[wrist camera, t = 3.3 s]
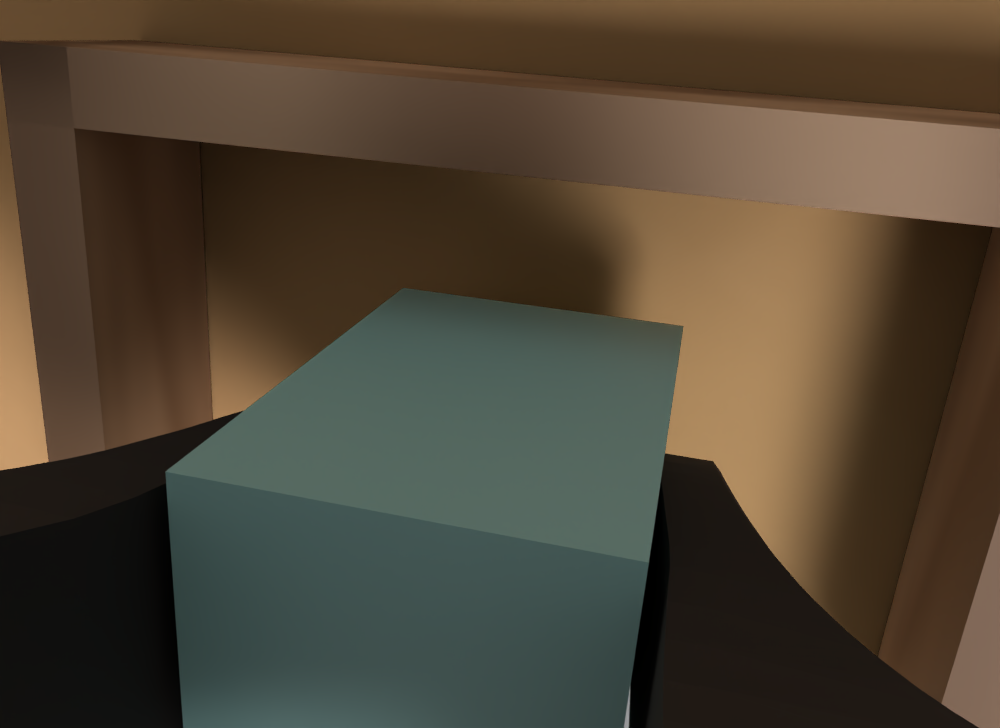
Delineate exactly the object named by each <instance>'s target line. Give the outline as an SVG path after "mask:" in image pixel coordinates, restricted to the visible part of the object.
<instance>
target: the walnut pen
mask: <svg viewBox="0 0 1000 728" xmlns="http://www.w3.org/2000/svg"><path fill="white" fill-rule="evenodd" d="M0 65H1V73H2V82H3V90H4V98H5V106H6V114H7V123H8V131H9V139H10V147H11V156H12V164H13V172H14V180H15V188H16V197H17V205H18V213H19V221H20V229H21V238H22V246H23V254H24V262H25V270H26V279H27V287H28V295H29V303H30V311H31V320H32V328H33V336H34V344H35V352H36V361H37V369H38V377H39V385H40V393H41V402H42V410H43V418H44V426H45V434H46V443H47V451H48V459H49V462H52V461H58V460H63V459H68V458H73V457H77V456H82V455H87V454H91V453H95V452H100V451H104V450H108V449H112V448H116V447H119V446H123V445H127V444H130V443H134V442H138V441H141V440H145V439H149V438H153V437H156V436H160V435H164V434H167V433H171V432H175V431H178V430H182V429H185V428H188V427H192V426H195V425H198V424H202V423H205V422H208V421H211V420H213V417H212V396H211V376H210V355H209V335H208V314H207V293H206V273H205V252H204V231H203V211H202V190H201V170H200V149H199V142H207V143H217V144H226V145H235V146H245V147H254V148H263V149H273V150H282V151H291V152H301V153H310V154H319V155H329V156H338V157H347V158H357V159H366V160H375V161H384V162H394V163H403V164H412V165H422V166H431V167H440V168H450V169H459V170H468V171H478V172H487V173H496V174H506V175H515V176H524V177H534V178H543V179H552V180H562V181H571V182H580V183H590V184H599V185H608V186H618V187H627V188H636V189H646V190H655V191H664V192H674V193H683V194H692V195H702V196H711V197H720V198H730V199H739V200H748V201H758V202H767V203H776V204H785V205H795V206H804V207H813V208H823V209H832V210H841V211H851V212H860V213H869V214H879V215H888V216H897V217H907V218H916V219H925V220H935V221H944V222H953V223H963V224H972V225H981V226H991V227H993V229H992V233H991V236H990V240H989V244H988V248H987V251H986V255H985V259H984V262H983V266H982V270H981V274H980V277H979V281H978V285H977V289H976V292H975V296H974V300H973V303H972V307H971V311H970V315H969V318H968V322H967V326H966V330H965V333H964V337H963V341H962V344H961V348H960V352H959V356H958V359H957V363H956V367H955V371H954V374H953V378H952V382H951V385H950V389H949V393H948V397H947V400H946V404H945V408H944V412H943V415H942V419H941V423H940V427H939V430H938V434H937V438H936V441H935V445H934V449H933V453H932V456H931V460H930V464H929V468H928V471H927V475H926V479H925V482H924V486H923V490H922V494H921V497H920V501H919V505H918V509H917V512H916V516H915V520H914V523H913V527H912V531H911V535H910V538H909V542H908V546H907V550H906V553H905V557H904V561H903V564H902V568H901V572H900V576H899V579H898V583H897V587H896V591H895V594H894V598H893V602H892V606H891V609H890V613H889V617H888V620H887V624H886V628H885V632H884V635H883V639H882V643H881V647H880V650H879V654H878V658H880V659H881V660H882V661H884V662H885V663H886V664H888V665H889V666H890V667H891V668H893V669H894V670H895V671H897V672H898V673H899V674H901V675H902V676H903V677H905V678H906V679H907V680H908V681H910V682H911V683H912V684H914V685H915V686H916V687H918V688H919V689H921V690H922V691H924V692H925V693H927V694H928V695H929V696H931V697H932V698H934V699H935V700H937V701H938V702H940V703H941V704H943V705H944V706H946V707H947V708H948V709H950V710H951V711H953V712H955V713H956V714H958V715H959V716H961V717H963V718H964V719H966V720H967V721H969V722H971V723H972V724H974V725H975V726H977V727H979V728H1000V114H995V113H984V112H972V111H960V110H948V109H937V108H925V107H913V106H901V105H890V104H878V103H866V102H854V101H843V100H831V99H819V98H807V97H796V96H784V95H772V94H760V93H749V92H737V91H725V90H713V89H702V88H690V87H678V86H666V85H655V84H643V83H631V82H619V81H608V80H596V79H584V78H572V77H561V76H549V75H537V74H525V73H514V72H502V71H490V70H478V69H467V68H455V67H443V66H431V65H420V64H408V63H396V62H384V61H372V60H361V59H349V58H337V57H325V56H314V55H302V54H290V53H278V52H267V51H255V50H243V49H231V48H220V47H208V46H196V45H184V44H173V43H161V42H149V41H137V40H133V41H0Z"/></svg>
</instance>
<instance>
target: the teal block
mask: <svg viewBox="0 0 1000 728" xmlns="http://www.w3.org/2000/svg"><path fill="white" fill-rule="evenodd" d="M682 332H683V326H678V325H671V324H664V323H657V322H649V321H642V320H635V319H627V318H620V317H613V316H605V315H598V314H591V313H583V312H576V311H569V310H562V309H554V308H547V307H540V306H532V305H525V304H518V303H510V302H503V301H496V300H488V299H481V298H474V297H467V296H459V295H452V294H445V293H437V292H430V291H423V290H415V289H408V288H402V289H401V290H400V291H398V292H397V293H396V294H395V295H393V296H392V297H391V298H389V299H388V300H387V301H386V302H384V303H383V304H382V305H380V306H379V307H378V308H376V309H375V310H374V311H373V312H371V313H370V314H369V315H367V316H366V317H365V318H364V319H362V320H361V321H360V322H358V323H357V324H356V325H354V326H353V327H352V328H351V329H349V330H348V331H347V332H345V333H344V334H343V335H342V336H340V337H339V338H338V339H336V340H335V341H334V342H332V343H331V344H330V345H329V346H327V347H326V348H325V349H323V350H322V351H321V352H319V353H318V354H317V355H316V356H314V357H313V358H312V359H310V360H309V361H308V362H307V363H305V364H304V365H303V366H301V367H300V368H299V369H297V370H296V371H295V372H294V373H292V374H291V375H290V376H288V377H287V378H286V379H285V380H283V381H282V382H281V383H279V384H278V385H277V386H275V387H274V388H273V389H272V390H270V391H269V392H268V393H266V394H265V395H264V396H263V397H261V398H260V399H259V400H257V401H256V402H255V403H253V404H252V405H251V406H250V407H248V408H247V409H246V410H244V411H243V412H242V413H241V414H239V415H238V416H237V417H235V418H234V419H233V420H231V421H230V422H229V423H228V424H226V425H225V426H224V427H222V428H221V429H220V430H219V431H217V432H216V433H215V434H213V435H212V436H211V437H209V438H208V439H207V440H206V441H204V442H203V443H202V444H200V445H199V446H198V447H197V448H195V449H194V450H193V451H191V452H190V453H189V454H187V455H186V456H185V457H184V458H182V459H181V460H180V461H178V462H177V463H176V464H175V465H173V466H172V467H171V468H169V469H168V470H167V471H165V474H166V488H167V502H168V517H169V531H170V545H171V560H172V574H173V588H174V602H175V617H176V631H177V645H178V660H179V674H180V688H181V703H182V717H183V728H624V723H625V716H626V710H627V703H628V697H629V690H630V684H631V677H632V670H633V664H634V657H635V651H636V644H637V637H638V631H639V624H640V618H641V611H642V604H643V598H644V591H645V585H646V578H647V571H648V565H649V558H650V551H651V544H652V538H653V531H654V524H655V517H656V510H657V503H658V497H659V490H660V483H661V476H662V469H663V462H664V456H665V449H666V442H667V435H668V428H669V421H670V415H671V408H672V401H673V394H674V387H675V380H676V374H677V367H678V360H679V353H680V346H681V339H682Z"/></svg>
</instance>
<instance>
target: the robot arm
mask: <svg viewBox="0 0 1000 728" xmlns="http://www.w3.org/2000/svg"><path fill="white" fill-rule="evenodd" d="M242 412H243V411H241V412H238V413H234V414H231V415H228V416H224V417H221V418H218V419H215V420H211V421H208V422H205V423H202V424H198V425H195V426H192V427H188V428H185V429H182V430H178V431H175V432H171V433H167V434H164V435H160V436H156V437H153V438H149V439H145V440H141V441H138V442H134V443H130V444H127V445H123V446H119V447H116V448H112V449H108V450H104V451H100V452H95V453H91V454H87V455H82V456H77V457H73V458H68V459H63V460H58V461H52V462H47V463H41V464H36V465H31V466H25V467H20V468H13V469H7V470H0V728H183V717H182V703H181V688H180V674H179V660H178V645H177V631H176V617H175V602H174V588H173V574H172V560H171V545H170V531H169V517H168V502H167V488H166V474H165V471H167V470H168V469H169V468H171V467H172V466H173V465H175V464H176V463H177V462H178V461H180V460H181V459H182V458H184V457H185V456H186V455H187V454H189V453H190V452H191V451H193V450H194V449H195V448H197V447H198V446H199V445H200V444H202V443H203V442H204V441H206V440H207V439H208V438H209V437H211V436H212V435H213V434H215V433H216V432H217V431H219V430H220V429H221V428H222V427H224V426H225V425H226V424H228V423H229V422H230V421H231V420H233V419H234V418H235V417H237V416H238V415H239V414H241V413H242ZM629 728H979V727H977V726H975V725H974V724H972V723H971V722H969V721H967V720H966V719H964V718H963V717H961V716H959V715H958V714H956V713H955V712H953V711H951V710H950V709H948V708H947V707H946V706H944V705H943V704H941V703H940V702H938V701H937V700H935V699H934V698H932V697H931V696H929V695H928V694H927V693H925V692H924V691H922V690H921V689H919V688H918V687H916V686H915V685H914V684H912V683H911V682H910V681H908V680H907V679H906V678H905V677H903V676H902V675H901V674H899V673H898V672H897V671H895V670H894V669H893V668H891V667H890V666H889V665H888V664H886V663H885V662H884V661H882V660H881V659H880V658H878V657H877V656H876V655H875V654H873V653H872V652H871V651H869V650H868V649H867V648H866V647H865V646H864V645H862V644H861V643H860V642H859V641H858V640H856V639H855V638H854V637H853V636H852V635H851V634H849V633H848V632H847V631H846V630H845V629H844V628H843V627H842V626H841V625H840V624H839V623H838V622H837V621H835V620H834V619H833V618H832V617H831V616H830V615H829V614H828V613H827V612H826V611H825V610H824V609H823V608H822V607H821V606H820V605H819V604H818V603H816V602H815V601H814V600H813V599H812V598H811V597H810V595H809V594H808V593H807V592H806V591H805V590H804V589H803V588H802V587H801V586H800V585H799V584H798V583H797V582H796V580H795V579H794V578H793V577H792V576H791V575H790V573H789V572H788V571H787V570H786V569H785V568H784V566H783V565H782V564H781V563H780V562H779V561H778V559H777V558H776V557H775V556H774V554H773V553H772V552H771V551H770V549H769V548H768V546H767V545H766V544H765V542H764V541H763V539H762V538H761V536H760V535H759V534H758V532H757V531H756V529H755V528H754V527H753V525H752V524H751V522H750V521H749V519H748V518H747V516H746V515H745V513H744V512H743V510H742V508H741V507H740V505H739V504H738V502H737V500H736V499H735V497H734V495H733V494H732V492H731V490H730V488H729V487H728V485H727V483H726V481H725V479H724V478H723V476H722V474H721V472H720V471H719V469H718V468H717V466H716V465H715V464H714V462H713V461H707V460H701V459H695V458H689V457H683V456H677V455H671V454H665V456H664V462H663V469H662V476H661V483H660V490H659V497H658V503H657V510H656V517H655V524H654V531H653V538H652V544H651V551H650V558H649V565H648V571H647V578H646V585H645V591H644V598H643V604H642V611H641V618H640V624H639V631H638V637H637V644H636V651H635V657H634V664H633V670H632V677H631V684H630V706H629Z"/></svg>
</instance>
